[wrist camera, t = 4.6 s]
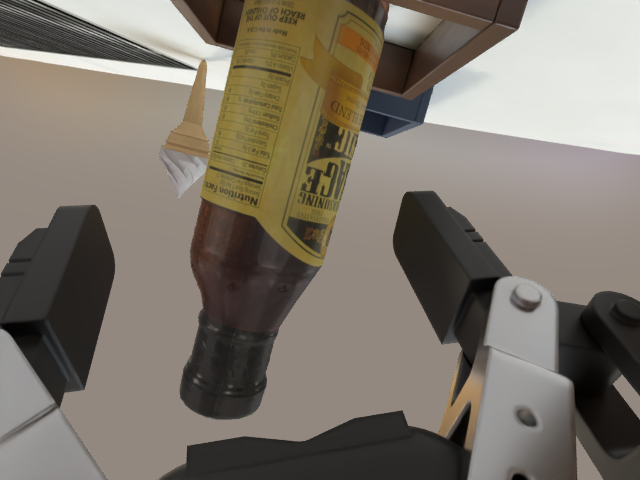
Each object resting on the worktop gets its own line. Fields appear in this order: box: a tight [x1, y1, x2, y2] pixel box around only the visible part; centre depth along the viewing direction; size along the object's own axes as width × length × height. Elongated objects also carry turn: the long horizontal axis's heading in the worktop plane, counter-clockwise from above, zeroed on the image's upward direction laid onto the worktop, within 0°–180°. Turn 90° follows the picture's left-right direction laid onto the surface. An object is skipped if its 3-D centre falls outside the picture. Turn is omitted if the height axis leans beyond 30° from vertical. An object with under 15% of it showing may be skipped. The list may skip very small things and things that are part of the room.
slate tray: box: [360, 86, 434, 138], centre depth 33 cm, size 12×13×3 cm
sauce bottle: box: [180, 0, 389, 420], centre depth 19 cm, size 6×6×20 cm
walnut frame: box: [170, 0, 528, 100], centre depth 17 cm, size 13×13×2 cm
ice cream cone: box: [159, 61, 210, 200], centre depth 43 cm, size 6×6×15 cm
